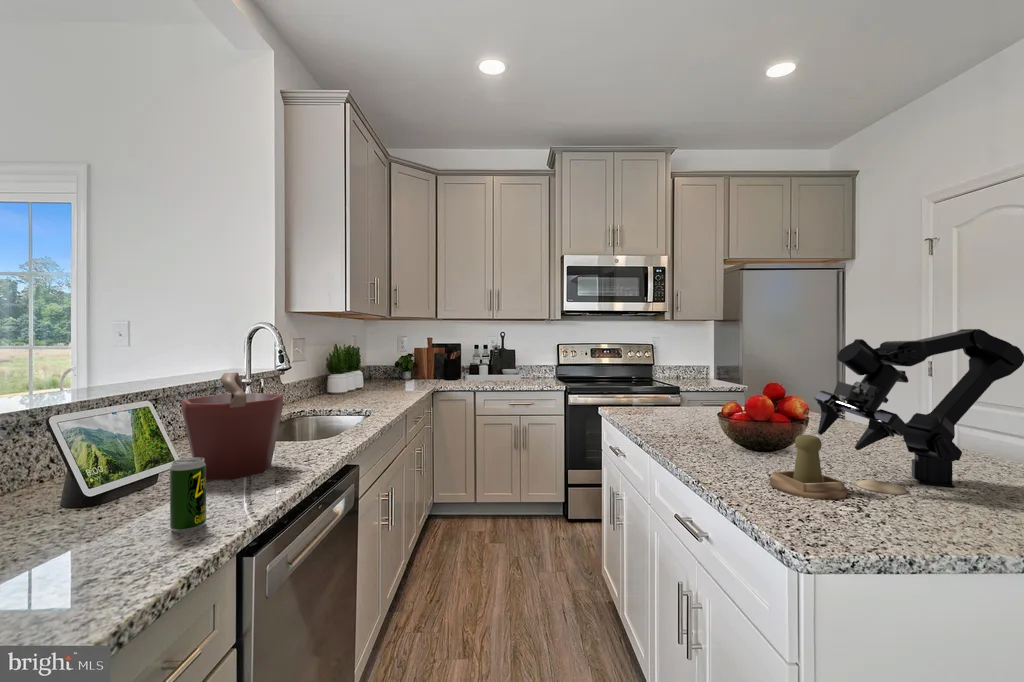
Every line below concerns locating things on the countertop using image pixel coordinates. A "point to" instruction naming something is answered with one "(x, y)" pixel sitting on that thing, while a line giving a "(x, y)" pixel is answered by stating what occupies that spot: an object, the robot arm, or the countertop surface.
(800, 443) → the pepper shaker
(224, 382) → the bucket
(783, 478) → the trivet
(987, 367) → the robot arm
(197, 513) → the green soda can
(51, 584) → the countertop surface
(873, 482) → the cork coaster
